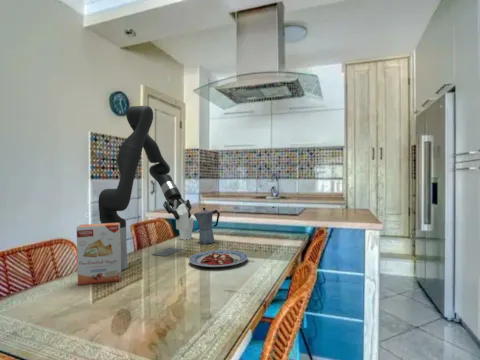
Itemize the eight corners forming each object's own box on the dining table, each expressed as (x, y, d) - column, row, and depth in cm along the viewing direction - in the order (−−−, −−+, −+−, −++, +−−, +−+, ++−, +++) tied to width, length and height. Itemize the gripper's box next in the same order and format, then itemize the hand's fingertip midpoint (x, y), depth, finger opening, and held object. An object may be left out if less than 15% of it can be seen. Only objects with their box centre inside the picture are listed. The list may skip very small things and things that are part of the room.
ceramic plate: (176, 266, 128) (176, 259, 128) (210, 252, 151) (209, 246, 151) (229, 274, 116) (229, 267, 116) (257, 257, 139) (257, 251, 138)
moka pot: (191, 242, 174) (190, 207, 173) (217, 239, 180) (216, 205, 180) (196, 245, 165) (195, 208, 165) (223, 242, 172) (222, 207, 171)
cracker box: (77, 285, 107) (75, 226, 107) (81, 280, 113) (79, 224, 112) (120, 281, 111) (118, 224, 110) (121, 276, 116) (120, 221, 116)
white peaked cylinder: (174, 204, 143) (176, 203, 148) (175, 229, 143) (177, 227, 148) (187, 204, 143) (188, 202, 148) (187, 229, 143) (189, 227, 149)
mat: (165, 256, 144) (165, 255, 144) (152, 255, 147) (152, 254, 147) (182, 249, 157) (182, 249, 157) (169, 248, 160) (169, 247, 160)
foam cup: (192, 240, 178) (191, 218, 178) (176, 241, 178) (175, 218, 178) (194, 237, 188) (194, 216, 188) (180, 237, 188) (179, 216, 188)
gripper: (160, 187, 146) (173, 214, 137) (186, 186, 156) (199, 211, 147) (155, 198, 150) (167, 224, 141) (180, 196, 160) (193, 221, 151)
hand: (184, 217), depth 144 cm, fingers closed on white peaked cylinder, 5 cm apart
